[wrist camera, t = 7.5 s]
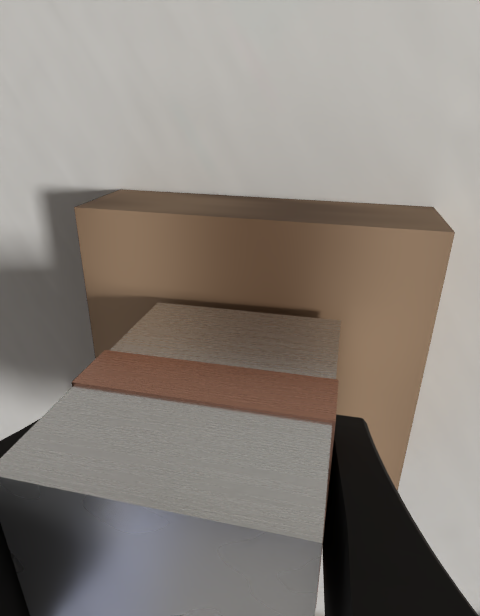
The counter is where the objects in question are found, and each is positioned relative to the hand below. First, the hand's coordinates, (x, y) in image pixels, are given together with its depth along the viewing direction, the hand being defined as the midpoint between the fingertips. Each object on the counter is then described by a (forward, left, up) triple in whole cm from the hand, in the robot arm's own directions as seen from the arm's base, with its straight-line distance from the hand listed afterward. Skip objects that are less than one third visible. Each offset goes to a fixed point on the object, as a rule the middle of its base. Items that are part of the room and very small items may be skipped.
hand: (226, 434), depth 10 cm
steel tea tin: (0, 0, -2) cm, 2 cm away
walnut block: (0, 0, -5) cm, 5 cm away
